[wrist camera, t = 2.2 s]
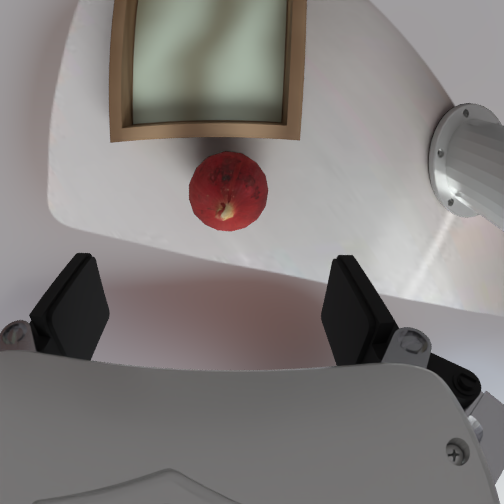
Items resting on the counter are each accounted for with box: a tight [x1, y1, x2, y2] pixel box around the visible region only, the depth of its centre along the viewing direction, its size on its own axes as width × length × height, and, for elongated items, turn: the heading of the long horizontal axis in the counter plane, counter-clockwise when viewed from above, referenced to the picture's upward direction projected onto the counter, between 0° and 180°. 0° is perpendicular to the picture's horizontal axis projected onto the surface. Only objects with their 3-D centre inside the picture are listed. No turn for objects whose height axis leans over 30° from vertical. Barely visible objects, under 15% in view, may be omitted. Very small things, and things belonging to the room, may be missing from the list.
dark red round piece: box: [189, 151, 268, 231], centre depth 21 cm, size 6×6×8 cm
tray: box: [109, 0, 307, 143], centre depth 18 cm, size 14×14×4 cm
